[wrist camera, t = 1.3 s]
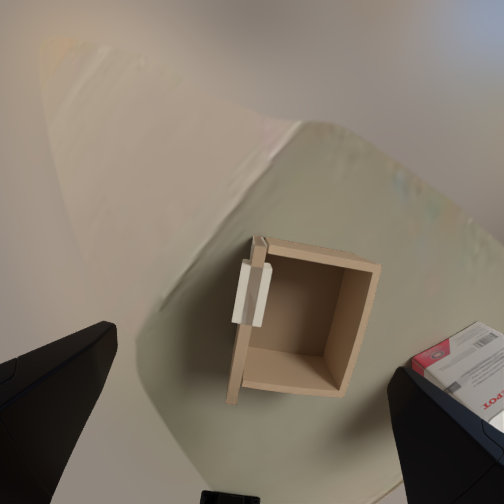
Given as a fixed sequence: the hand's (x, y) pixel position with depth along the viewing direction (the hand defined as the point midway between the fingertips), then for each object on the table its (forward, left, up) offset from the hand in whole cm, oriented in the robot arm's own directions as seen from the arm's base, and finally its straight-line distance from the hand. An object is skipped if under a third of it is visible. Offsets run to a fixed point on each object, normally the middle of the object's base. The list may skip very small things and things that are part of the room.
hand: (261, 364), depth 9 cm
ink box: (-5, -20, -15) cm, 26 cm away
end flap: (-2, 0, -15) cm, 15 cm away
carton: (-2, -4, -15) cm, 15 cm away
